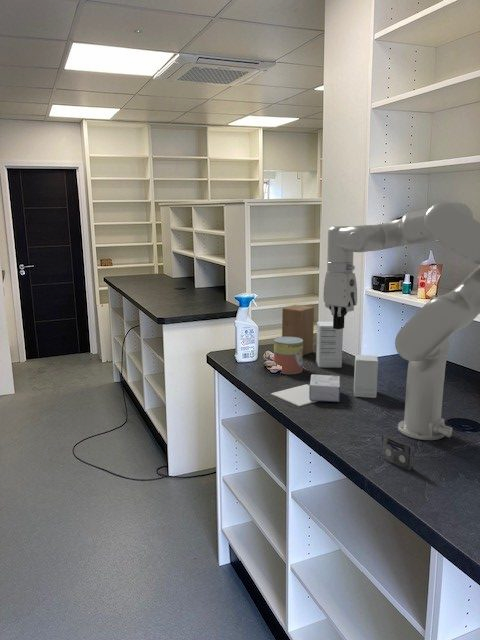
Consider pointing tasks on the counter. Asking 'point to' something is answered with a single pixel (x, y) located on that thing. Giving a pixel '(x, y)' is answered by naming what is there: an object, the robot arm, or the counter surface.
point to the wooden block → (299, 325)
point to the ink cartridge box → (324, 388)
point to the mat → (295, 395)
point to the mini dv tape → (397, 452)
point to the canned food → (289, 354)
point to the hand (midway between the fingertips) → (338, 328)
